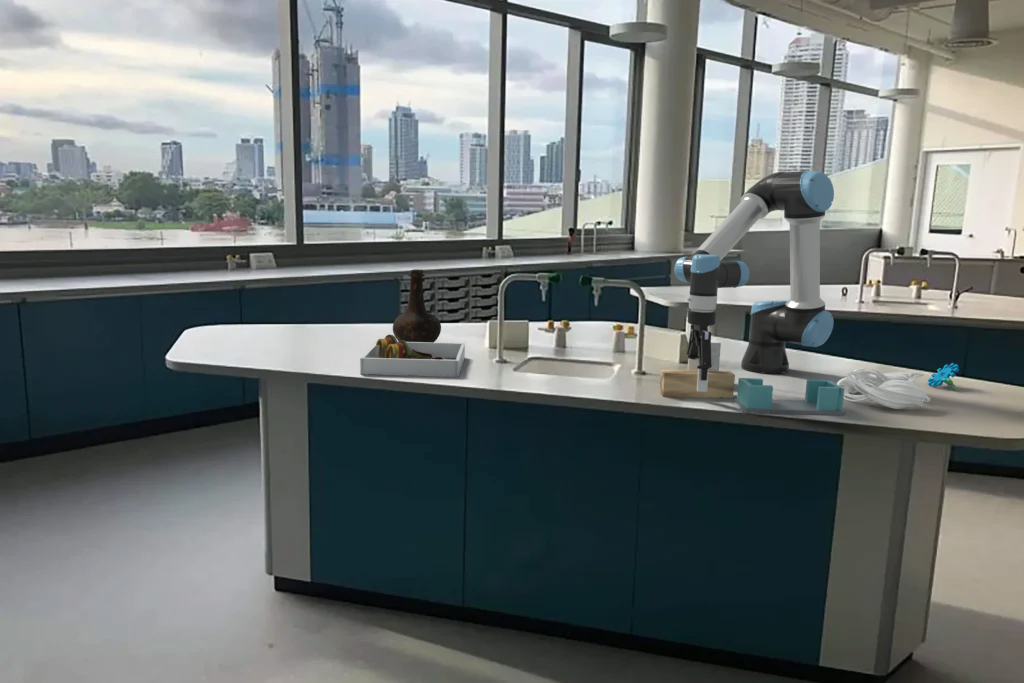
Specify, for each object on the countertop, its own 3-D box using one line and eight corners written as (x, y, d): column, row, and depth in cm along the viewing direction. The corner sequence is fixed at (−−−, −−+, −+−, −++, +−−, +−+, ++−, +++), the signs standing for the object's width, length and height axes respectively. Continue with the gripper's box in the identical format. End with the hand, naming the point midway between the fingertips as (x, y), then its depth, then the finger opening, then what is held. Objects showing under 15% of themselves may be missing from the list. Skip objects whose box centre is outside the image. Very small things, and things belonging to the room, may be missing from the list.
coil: (863, 389, 231) (865, 359, 229) (946, 405, 211) (949, 372, 210) (816, 401, 216) (818, 369, 215) (901, 419, 197) (903, 384, 195)
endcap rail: (734, 401, 209) (736, 377, 208) (827, 404, 209) (830, 379, 208) (746, 412, 198) (748, 386, 197) (844, 415, 198) (847, 389, 197)
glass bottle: (420, 351, 267) (420, 272, 262) (382, 345, 277) (381, 269, 272) (450, 344, 282) (451, 269, 277) (414, 339, 291) (414, 266, 286)
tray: (377, 355, 259) (377, 341, 258) (464, 357, 259) (464, 343, 258) (360, 374, 231) (360, 358, 230) (458, 376, 231) (458, 360, 230)
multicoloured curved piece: (468, 367, 246) (469, 336, 244) (414, 378, 228) (414, 345, 226) (418, 355, 261) (418, 327, 260) (364, 365, 244) (363, 335, 242)
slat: (659, 393, 217) (660, 369, 216) (728, 394, 218) (730, 371, 217) (662, 397, 213) (664, 373, 212) (733, 398, 214) (735, 374, 212)
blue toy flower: (923, 376, 240) (951, 357, 235) (935, 390, 240) (964, 371, 236) (930, 389, 230) (960, 369, 225) (943, 403, 230) (974, 383, 226)
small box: (712, 379, 235) (716, 338, 233) (718, 384, 229) (721, 342, 227) (686, 379, 235) (689, 338, 233) (691, 384, 229) (694, 341, 227)
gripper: (679, 304, 223) (674, 376, 227) (698, 316, 199) (693, 396, 203) (704, 304, 223) (699, 376, 227) (727, 316, 199) (721, 396, 203)
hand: (696, 386), depth 215 cm, fingers open, 11 cm apart
